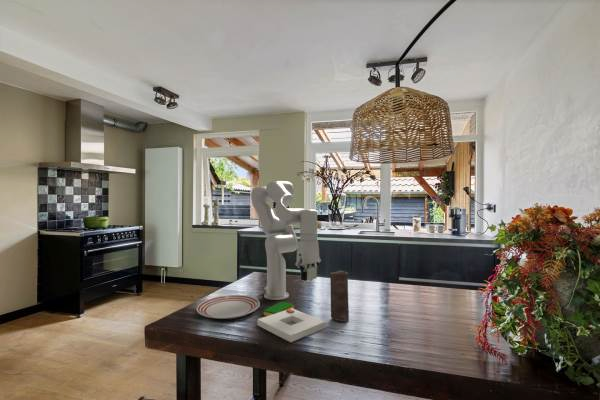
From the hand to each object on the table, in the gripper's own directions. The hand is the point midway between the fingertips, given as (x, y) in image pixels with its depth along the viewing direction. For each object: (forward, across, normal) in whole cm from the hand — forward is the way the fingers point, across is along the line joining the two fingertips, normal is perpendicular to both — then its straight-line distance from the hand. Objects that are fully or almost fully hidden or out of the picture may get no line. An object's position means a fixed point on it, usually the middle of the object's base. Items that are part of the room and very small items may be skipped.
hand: (308, 278), depth 134 cm
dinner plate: (+16, +24, -26) cm, 39 cm away
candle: (+15, -4, +14) cm, 21 cm away
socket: (+15, +15, +6) cm, 22 cm away
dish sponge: (+16, +8, -10) cm, 21 cm away
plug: (+1, 0, 0) cm, 1 cm away
